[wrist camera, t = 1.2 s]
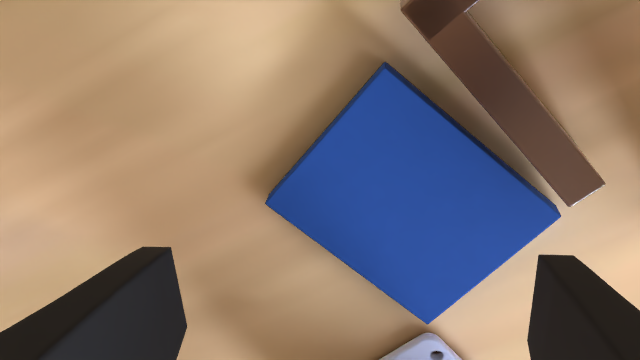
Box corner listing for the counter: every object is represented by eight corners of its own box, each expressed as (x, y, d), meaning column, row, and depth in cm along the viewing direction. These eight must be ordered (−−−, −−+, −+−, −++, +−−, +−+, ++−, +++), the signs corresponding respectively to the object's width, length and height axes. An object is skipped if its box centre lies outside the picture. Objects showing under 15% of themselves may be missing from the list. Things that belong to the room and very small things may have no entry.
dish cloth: (556, 205, 20) (562, 216, 19) (426, 312, 22) (427, 325, 22) (385, 60, 18) (384, 67, 17) (269, 194, 21) (264, 204, 20)
